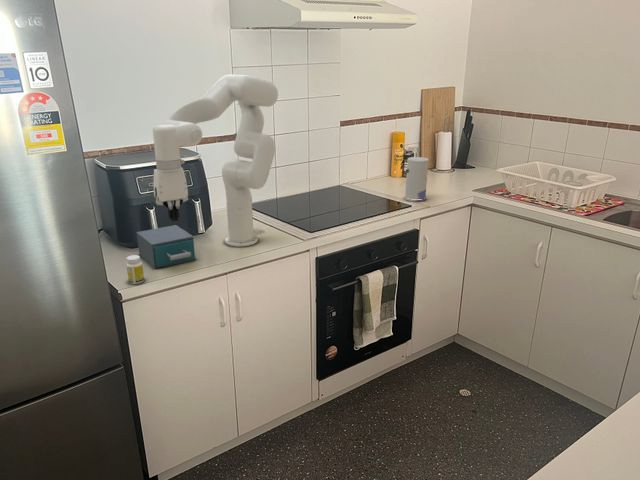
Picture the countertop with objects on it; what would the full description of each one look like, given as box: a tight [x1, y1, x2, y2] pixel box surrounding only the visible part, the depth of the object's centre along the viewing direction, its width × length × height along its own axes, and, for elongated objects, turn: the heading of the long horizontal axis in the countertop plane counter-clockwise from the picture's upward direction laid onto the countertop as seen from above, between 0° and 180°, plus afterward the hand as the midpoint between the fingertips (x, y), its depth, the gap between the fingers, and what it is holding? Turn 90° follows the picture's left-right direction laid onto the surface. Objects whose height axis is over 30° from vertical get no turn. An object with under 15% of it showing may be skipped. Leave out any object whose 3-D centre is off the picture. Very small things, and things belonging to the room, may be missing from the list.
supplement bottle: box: [126, 254, 145, 285], centre depth 176 cm, size 5×5×8 cm
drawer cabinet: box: [136, 224, 196, 270], centre depth 196 cm, size 16×15×9 cm
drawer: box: [154, 239, 196, 267], centre depth 193 cm, size 20×14×7 cm
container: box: [404, 156, 430, 203], centre depth 268 cm, size 10×10×20 cm
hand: (174, 219), depth 183 cm, fingers closed
